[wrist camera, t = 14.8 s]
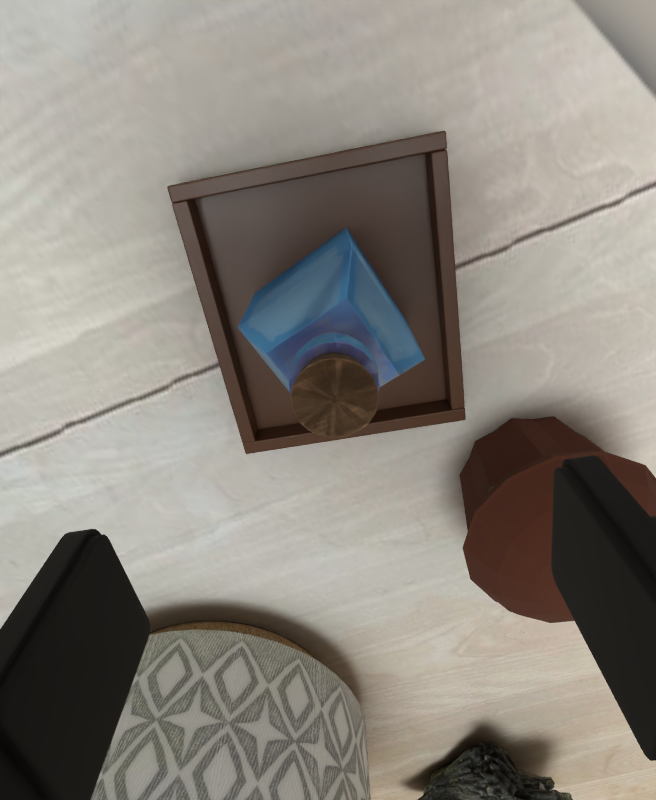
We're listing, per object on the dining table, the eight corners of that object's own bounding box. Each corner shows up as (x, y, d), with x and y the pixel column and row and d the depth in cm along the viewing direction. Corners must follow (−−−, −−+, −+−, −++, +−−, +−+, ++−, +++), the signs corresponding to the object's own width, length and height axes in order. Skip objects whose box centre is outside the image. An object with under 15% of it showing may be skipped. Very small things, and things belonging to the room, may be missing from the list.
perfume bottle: (346, 227, 27) (360, 277, 16) (406, 319, 29) (453, 418, 18) (254, 293, 28) (211, 379, 18) (318, 376, 31) (314, 497, 20)
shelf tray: (178, 183, 27) (166, 186, 25) (436, 132, 26) (446, 130, 24) (250, 435, 33) (245, 454, 31) (456, 402, 32) (465, 420, 30)
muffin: (523, 364, 31) (603, 451, 22) (646, 448, 34) (761, 555, 25) (407, 496, 36) (435, 611, 27) (524, 560, 38) (585, 686, 29)
